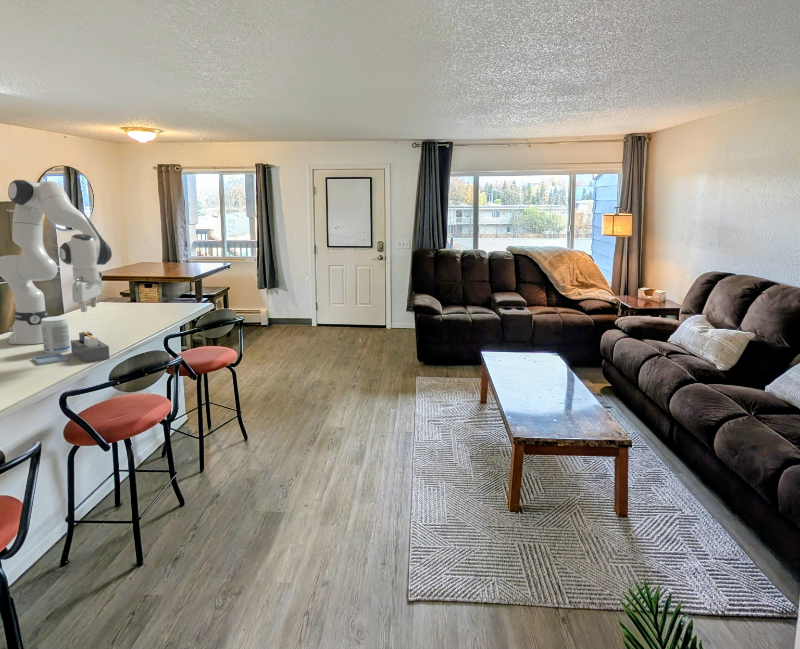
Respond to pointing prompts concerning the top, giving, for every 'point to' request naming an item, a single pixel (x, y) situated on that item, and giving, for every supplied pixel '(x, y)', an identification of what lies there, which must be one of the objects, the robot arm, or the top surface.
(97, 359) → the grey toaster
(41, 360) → the slate tray
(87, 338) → the white orange-striped block
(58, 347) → the supplement tub
